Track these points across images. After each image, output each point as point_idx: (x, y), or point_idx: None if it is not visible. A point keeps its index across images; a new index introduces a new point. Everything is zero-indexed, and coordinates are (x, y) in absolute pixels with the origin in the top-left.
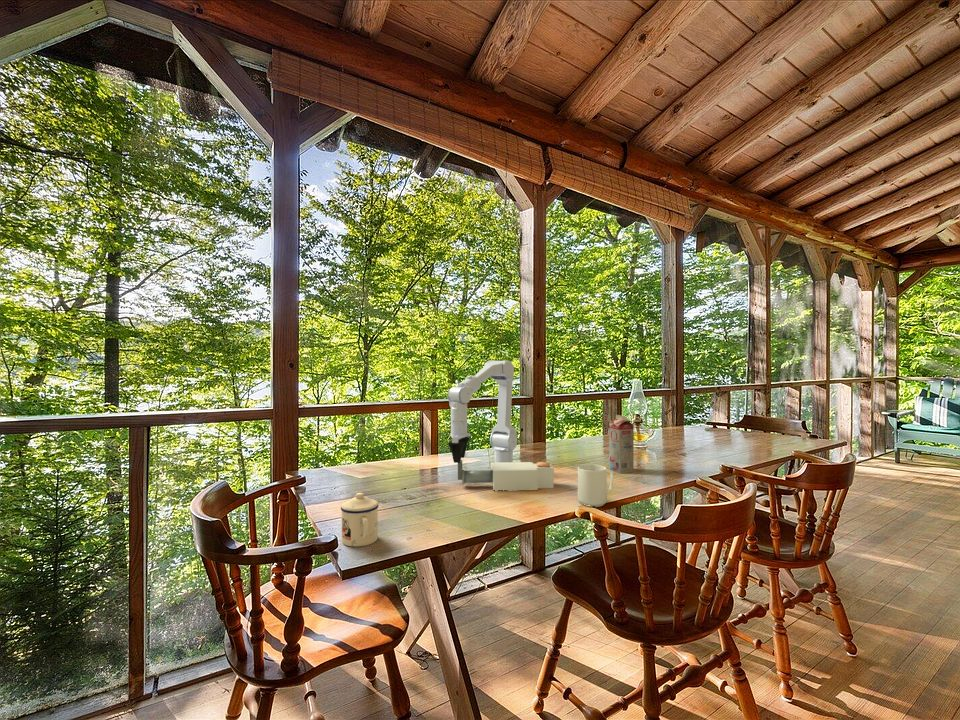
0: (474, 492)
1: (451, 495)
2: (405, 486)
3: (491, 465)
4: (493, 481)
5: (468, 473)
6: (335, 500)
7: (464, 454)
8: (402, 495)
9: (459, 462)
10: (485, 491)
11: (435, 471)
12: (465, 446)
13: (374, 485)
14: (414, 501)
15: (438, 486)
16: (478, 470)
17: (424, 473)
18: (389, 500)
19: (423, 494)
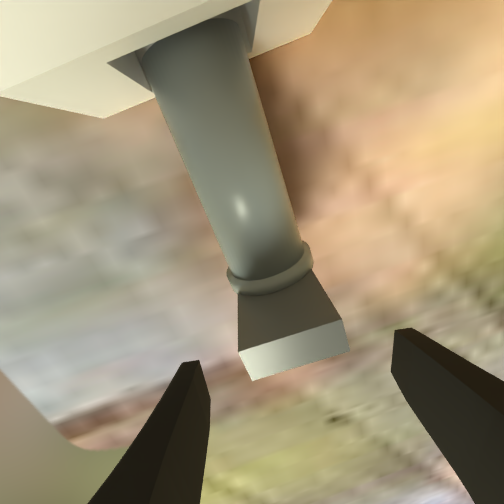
0: (350, 153)
1: (411, 246)
2: (311, 426)
3: (72, 69)
4: (318, 7)
5: (290, 236)
6: (466, 493)
7: (191, 384)
8: None
9: (416, 330)
10: (321, 92)
11: (66, 425)
12: (154, 495)
13: (319, 489)
14: (489, 340)
15: None
16: (229, 177)
17: (119, 443)
18: None
19: None
